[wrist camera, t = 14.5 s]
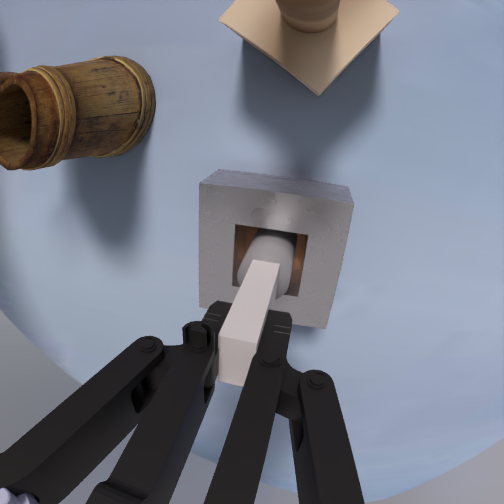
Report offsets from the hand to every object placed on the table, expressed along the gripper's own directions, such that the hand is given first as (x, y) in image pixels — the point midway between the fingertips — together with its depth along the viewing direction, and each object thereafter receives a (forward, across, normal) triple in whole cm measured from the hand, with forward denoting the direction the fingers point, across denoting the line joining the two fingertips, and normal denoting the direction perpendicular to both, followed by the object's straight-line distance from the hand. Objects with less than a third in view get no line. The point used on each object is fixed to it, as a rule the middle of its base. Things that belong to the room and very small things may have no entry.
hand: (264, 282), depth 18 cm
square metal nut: (+6, 0, 0) cm, 6 cm away
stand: (+8, +1, +15) cm, 17 cm away
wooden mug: (+8, -17, +11) cm, 22 cm away
